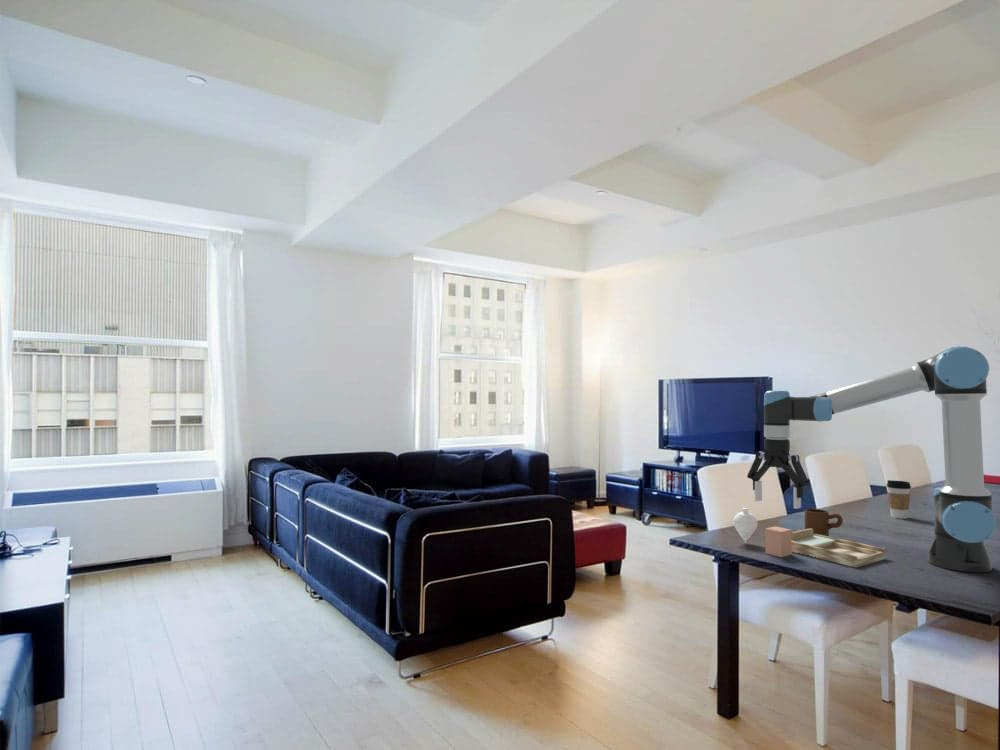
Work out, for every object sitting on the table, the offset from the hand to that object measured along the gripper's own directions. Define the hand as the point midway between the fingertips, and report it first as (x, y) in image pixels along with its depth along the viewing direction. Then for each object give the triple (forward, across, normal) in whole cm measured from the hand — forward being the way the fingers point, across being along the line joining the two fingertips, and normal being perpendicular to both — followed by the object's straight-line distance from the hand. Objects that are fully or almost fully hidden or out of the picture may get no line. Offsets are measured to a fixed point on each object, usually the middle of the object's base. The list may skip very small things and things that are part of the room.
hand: (777, 504), depth 191 cm
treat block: (+16, 0, 0) cm, 16 cm away
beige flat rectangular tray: (+16, -6, -15) cm, 22 cm away
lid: (+14, +1, -15) cm, 20 cm away
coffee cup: (+16, +7, -93) cm, 94 cm away
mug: (+16, +4, -33) cm, 37 cm away
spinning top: (+16, +14, -3) cm, 21 cm away
